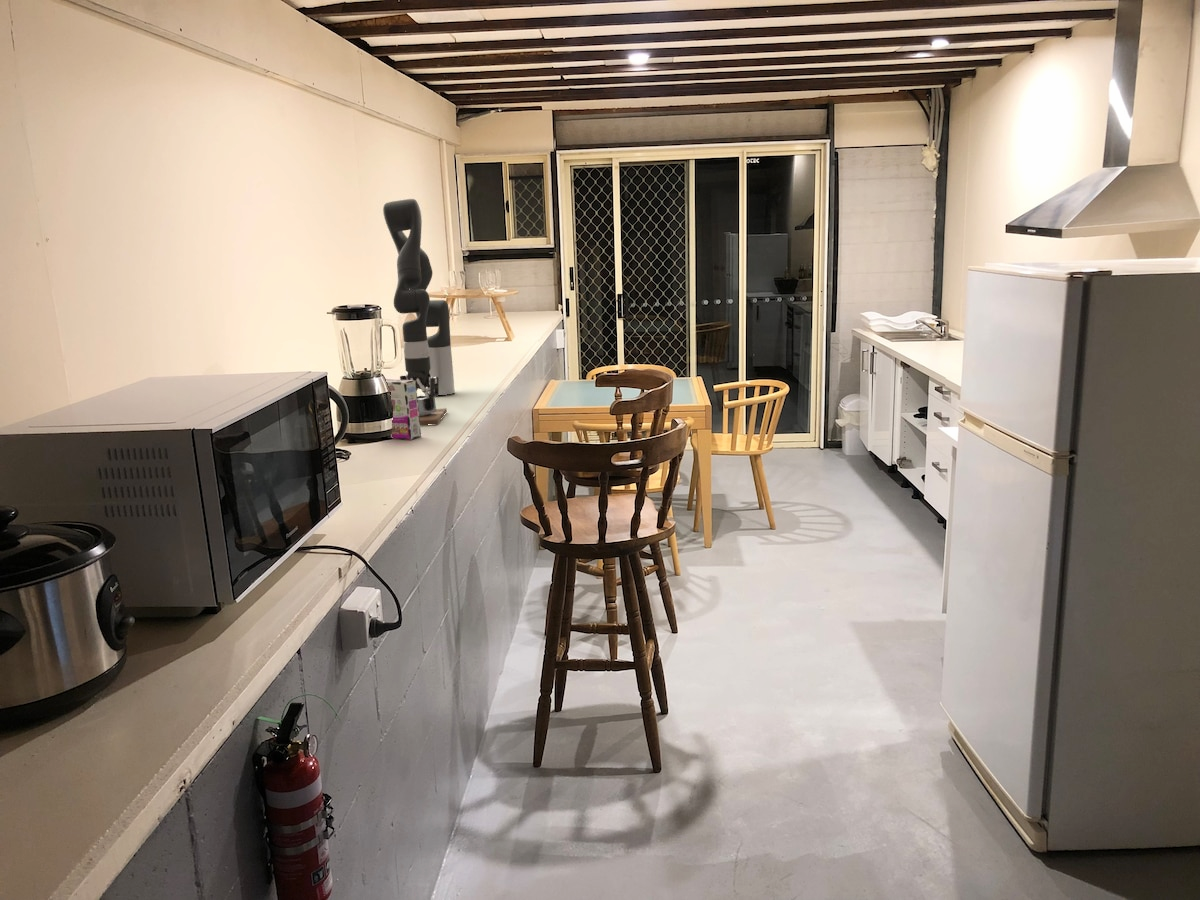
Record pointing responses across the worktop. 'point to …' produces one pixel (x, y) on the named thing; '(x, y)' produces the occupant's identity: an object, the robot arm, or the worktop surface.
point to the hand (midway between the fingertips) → (422, 409)
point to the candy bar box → (404, 409)
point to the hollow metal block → (424, 405)
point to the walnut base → (432, 417)
